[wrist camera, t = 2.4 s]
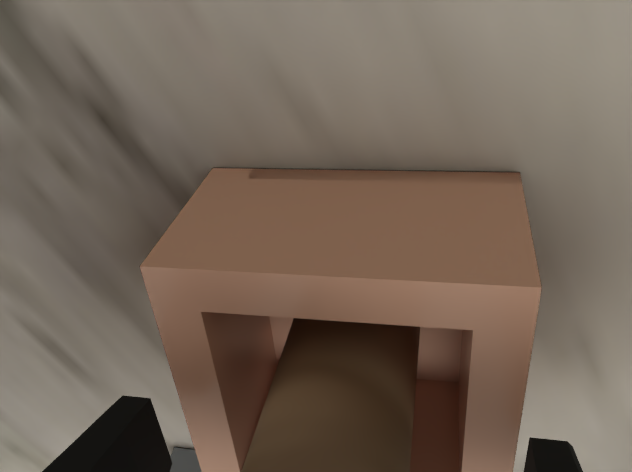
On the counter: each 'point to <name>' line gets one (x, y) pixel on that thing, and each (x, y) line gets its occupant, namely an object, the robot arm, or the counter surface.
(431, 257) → the square hollow frame
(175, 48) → the counter surface
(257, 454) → the peg
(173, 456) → the board
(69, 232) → the counter surface
